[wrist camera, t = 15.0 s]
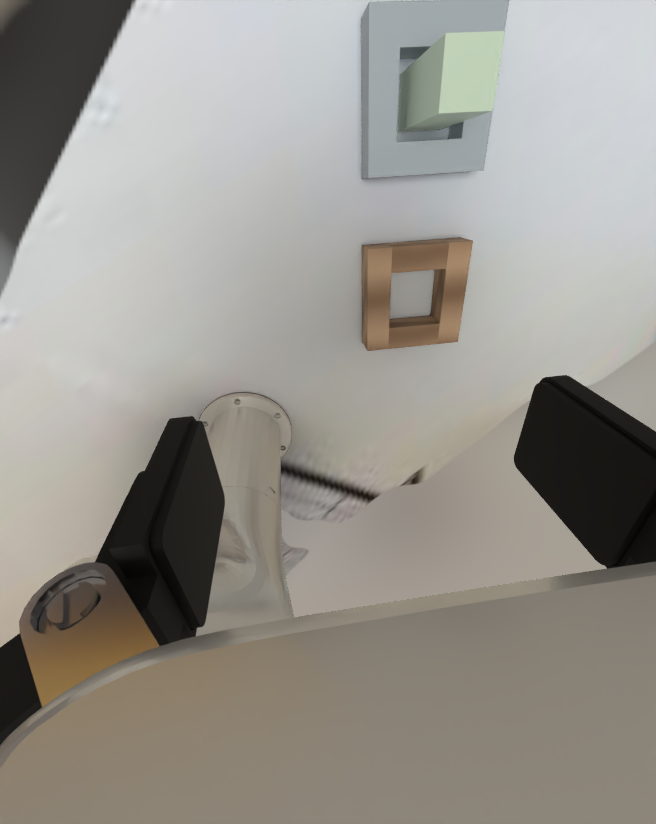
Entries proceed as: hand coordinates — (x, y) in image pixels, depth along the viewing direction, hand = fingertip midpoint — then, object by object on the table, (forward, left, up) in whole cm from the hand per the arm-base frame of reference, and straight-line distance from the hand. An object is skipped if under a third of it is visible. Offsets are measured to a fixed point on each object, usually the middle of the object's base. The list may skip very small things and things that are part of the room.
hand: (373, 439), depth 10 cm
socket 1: (+12, -12, -33) cm, 37 cm away
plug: (+12, -12, -33) cm, 37 cm away
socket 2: (-5, -12, -33) cm, 36 cm away
